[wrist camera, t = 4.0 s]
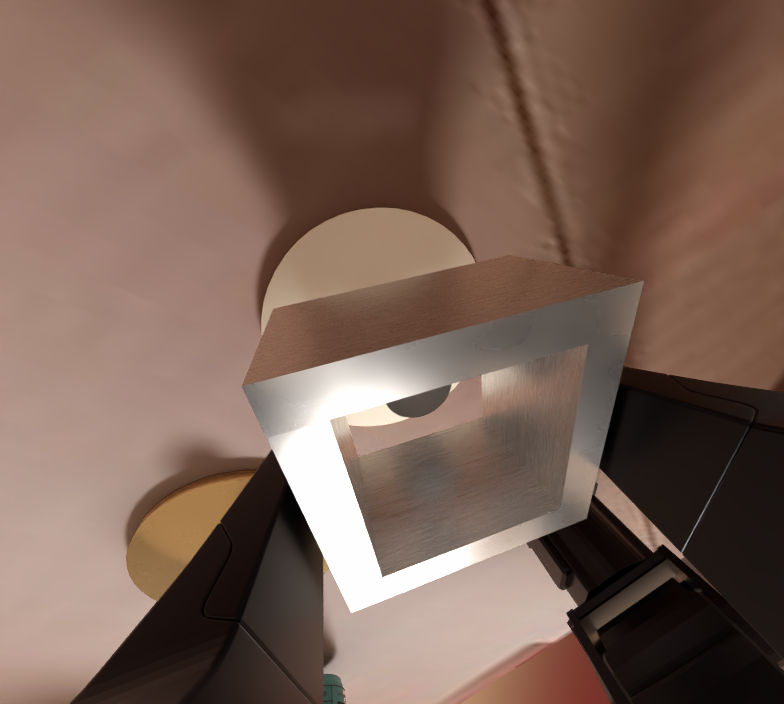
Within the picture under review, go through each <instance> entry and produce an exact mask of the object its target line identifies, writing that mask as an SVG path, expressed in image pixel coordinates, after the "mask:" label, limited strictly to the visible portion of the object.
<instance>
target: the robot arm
mask: <svg viewBox="0 0 784 704" xmlns="http://www.w3.org/2000/svg"><path fill="white" fill-rule="evenodd" d="M599 468H600V469H601V470H602V471H603V472H604V473H605V474H606V475H607V476H608V477H609V478H610V479H611V480H612V481H613V483H614V484H615V485H616V486H617V487H618V488H619V489H620V490H621V491H622V492H623V493H624V494H625V495H626V496H627V497H628V498H629V499H630V500H631V501H632V502H633V503H634V504H635V505H636V506H637V507H638V508H639V510H640V511H641V512H642V513H643V514H644V515H645V516H646V517H647V518H648V519H649V520H650V521H651V522H652V523H653V524H654V525H655V526H656V527H657V528H658V529H659V530H660V531H661V532H662V533H663V534H664V535H665V537H666V538H667V539H668V540H669V541H670V542H671V543H672V544H673V545H674V546H675V547H676V548H677V549H678V550H679V551H680V552H682V553H683V556H684V557H685V558H687V560H688V561H689V562H690V563H691V564H692V565H693V566H694V567H695V568H696V569H697V570H698V571H699V572H700V573H701V574H702V575H703V576H704V577H705V578H706V579H707V580H708V581H709V583H710V584H711V585H712V586H713V587H715V589H716V590H717V591H718V592H719V593H720V594H721V595H720V594H719V593H718V592H717V591H716V590H715V589H713V588H712V587H711V586H710V585H709V584H708V583H706V582H705V581H704V580H703V579H702V578H701V577H700V576H699V575H698V574H696V573H695V572H694V571H693V570H692V569H690V567H688V566H687V565H686V564H685V563H684V562H682V560H680V559H679V558H678V557H677V556H676V555H675V554H674V553H672V552H671V551H670V550H669V549H668V548H667V547H666V546H664V545H663V544H662V545H661V546H659V547H658V548H657V551H655V552H654V553H653V552H652V551H651V550H650V549H649V548H648V547H647V546H646V545H645V544H644V543H643V542H642V541H641V540H640V539H639V538H638V537H637V536H636V535H635V534H634V533H633V532H632V531H631V530H629V529H628V528H627V527H626V526H625V525H624V524H623V523H622V522H621V521H620V520H619V519H618V518H617V517H616V516H615V515H614V514H613V513H612V512H611V511H610V510H609V509H608V508H607V507H606V506H605V505H604V504H603V503H602V502H601V501H600V500H599V499H598V498H597V497H596V496H595V493H596V489H597V485H598V484H597V483H596V482H595V486H594V490H593V494H592V498H591V502H590V506H589V510H588V515H587V519H584V520H582V521H579V522H577V523H574V524H572V525H569V526H567V527H564V528H562V529H559V530H557V531H554V532H552V533H549V534H547V535H544V536H542V537H539V538H537V539H534V540H532V541H529V542H527V545H528V546H529V548H532V549H533V551H534V552H535V554H536V555H537V557H538V558H539V560H540V561H541V563H542V564H543V566H544V567H545V569H546V570H547V572H548V573H549V575H550V576H551V578H552V579H553V581H554V582H555V584H556V585H557V587H558V588H559V589H561V590H565V589H567V591H568V592H569V594H570V595H571V597H572V598H573V600H574V601H575V603H576V604H577V605H578V607H577V608H575V609H574V610H573V609H571V610H570V611H568V612H567V613H566V614H567V616H568V617H569V621H568V622H567V624H568V625H569V627H570V628H571V630H572V631H573V633H574V635H575V636H576V638H577V639H578V641H579V643H580V644H581V646H582V647H583V649H584V651H585V653H586V655H587V657H588V658H589V660H590V662H591V664H592V666H593V668H594V670H595V673H596V674H597V676H598V678H599V681H600V683H601V685H602V687H603V689H604V691H605V692H606V694H607V696H608V699H609V701H610V703H611V704H784V670H783V669H784V392H778V391H771V390H764V389H757V388H749V387H742V386H736V385H729V384H722V383H716V382H709V381H703V380H697V379H691V378H685V377H680V376H674V375H667V374H663V373H657V372H651V371H646V370H640V369H634V368H629V367H623V370H622V374H621V378H620V382H619V386H618V391H617V395H616V399H615V403H614V407H613V411H612V415H611V420H610V424H609V428H608V432H607V436H606V440H605V444H604V448H603V453H602V457H601V461H600V465H599ZM220 523H221V524H220ZM220 523H219V524H217V525H216V527H215V528H214V530H213V531H212V532H211V534H210V535H209V536H208V538H207V539H206V540H205V542H204V543H203V544H202V546H201V547H200V548H199V550H198V551H197V552H196V554H195V555H194V556H193V558H192V559H191V560H190V562H189V563H188V564H187V565H186V567H185V568H184V569H183V570H182V572H181V573H180V574H179V575H178V577H177V578H176V579H175V580H174V582H173V583H172V584H171V585H170V586H169V588H168V589H167V590H166V591H165V593H164V594H163V595H162V596H161V597H160V599H159V600H158V601H157V602H156V603H155V605H154V606H153V607H152V608H151V609H150V611H149V612H148V613H147V614H146V615H145V617H144V618H143V619H142V620H141V621H140V623H139V624H138V625H137V626H136V627H135V629H134V630H133V631H132V632H131V633H130V635H129V636H128V637H127V638H126V639H125V641H124V642H123V643H122V644H121V645H120V647H119V648H118V649H117V650H116V651H115V653H114V654H113V655H112V656H111V657H110V659H109V660H108V661H107V662H106V663H105V665H104V666H103V667H102V668H101V669H100V671H99V672H98V673H97V674H96V675H95V677H94V678H93V679H92V680H91V681H90V682H89V683H88V685H87V686H86V687H85V688H84V689H83V690H82V691H81V692H80V693H79V694H78V695H77V696H76V697H75V699H74V700H73V701H72V702H71V703H70V704H323V553H322V551H321V549H320V547H319V545H318V543H317V541H316V539H315V537H314V535H313V532H312V530H311V528H310V526H309V524H308V522H307V520H306V518H305V516H304V514H303V512H302V510H301V508H300V506H299V504H298V501H297V499H296V497H295V495H294V493H293V491H292V489H291V487H290V485H289V483H288V481H287V479H286V477H285V475H284V473H283V471H282V468H281V466H280V464H279V462H278V460H277V458H276V456H275V454H274V452H273V450H271V451H270V453H269V454H268V455H267V457H266V458H265V460H264V461H263V462H262V464H261V465H260V466H259V468H258V469H257V471H256V472H255V473H254V475H253V476H252V477H251V479H250V480H249V482H248V483H247V484H246V486H245V487H244V488H243V490H242V491H241V493H240V494H239V495H238V497H237V498H236V499H235V501H234V502H233V504H232V505H231V506H230V508H229V509H228V510H227V512H226V513H225V515H224V516H223V517H222V519H221V520H220ZM676 576H678V577H679V578H680V579H681V580H682V582H680V583H679V582H677V581H676V580H675V579H674V577H676Z"/></svg>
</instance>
